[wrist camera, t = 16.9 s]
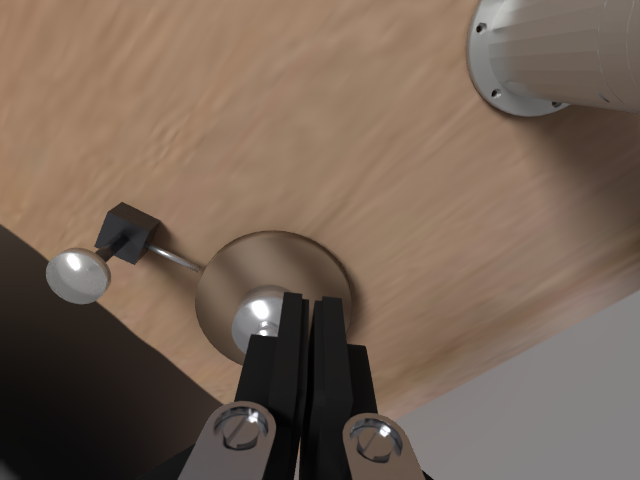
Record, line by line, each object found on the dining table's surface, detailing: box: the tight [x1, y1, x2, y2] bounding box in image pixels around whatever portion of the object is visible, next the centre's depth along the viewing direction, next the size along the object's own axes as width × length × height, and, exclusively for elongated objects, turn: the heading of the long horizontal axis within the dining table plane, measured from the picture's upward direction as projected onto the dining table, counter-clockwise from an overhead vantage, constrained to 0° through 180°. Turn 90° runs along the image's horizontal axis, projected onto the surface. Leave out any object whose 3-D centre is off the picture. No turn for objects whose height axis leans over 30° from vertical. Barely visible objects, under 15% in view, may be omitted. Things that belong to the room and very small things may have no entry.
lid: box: [232, 285, 293, 354], centre depth 40 cm, size 7×7×4 cm
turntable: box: [195, 231, 352, 366], centre depth 41 cm, size 16×16×6 cm
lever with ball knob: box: [46, 202, 200, 304], centre depth 37 cm, size 10×4×11 cm, turn 61°
